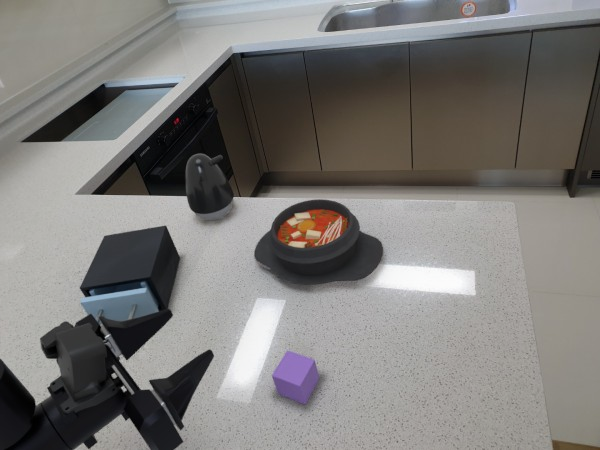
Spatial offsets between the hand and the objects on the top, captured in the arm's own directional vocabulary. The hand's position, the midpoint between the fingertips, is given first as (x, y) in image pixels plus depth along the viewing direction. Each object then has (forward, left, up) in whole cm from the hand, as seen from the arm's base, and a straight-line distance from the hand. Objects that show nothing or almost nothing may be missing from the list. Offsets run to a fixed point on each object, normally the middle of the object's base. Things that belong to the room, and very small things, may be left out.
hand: (190, 331), depth 53 cm
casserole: (+31, +15, -19) cm, 39 cm away
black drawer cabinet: (+3, +36, -19) cm, 41 cm away
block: (+10, -3, -19) cm, 21 cm away
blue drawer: (0, +31, -18) cm, 36 cm away
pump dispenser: (+27, +45, -19) cm, 55 cm away
